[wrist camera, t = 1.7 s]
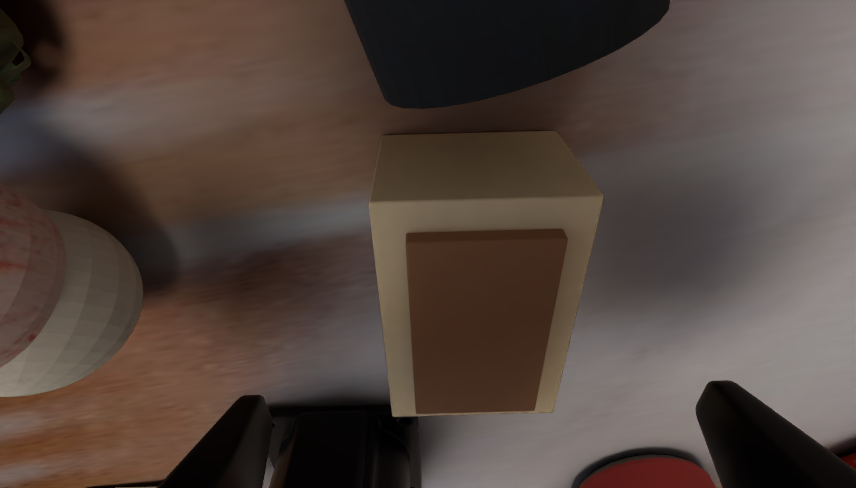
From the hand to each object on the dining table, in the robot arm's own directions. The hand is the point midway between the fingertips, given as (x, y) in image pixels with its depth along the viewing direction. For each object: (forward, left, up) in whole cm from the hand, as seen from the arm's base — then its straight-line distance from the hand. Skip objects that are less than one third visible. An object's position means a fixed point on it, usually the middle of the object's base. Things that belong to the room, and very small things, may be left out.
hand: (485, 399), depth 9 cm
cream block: (0, 0, -6) cm, 6 cm away
